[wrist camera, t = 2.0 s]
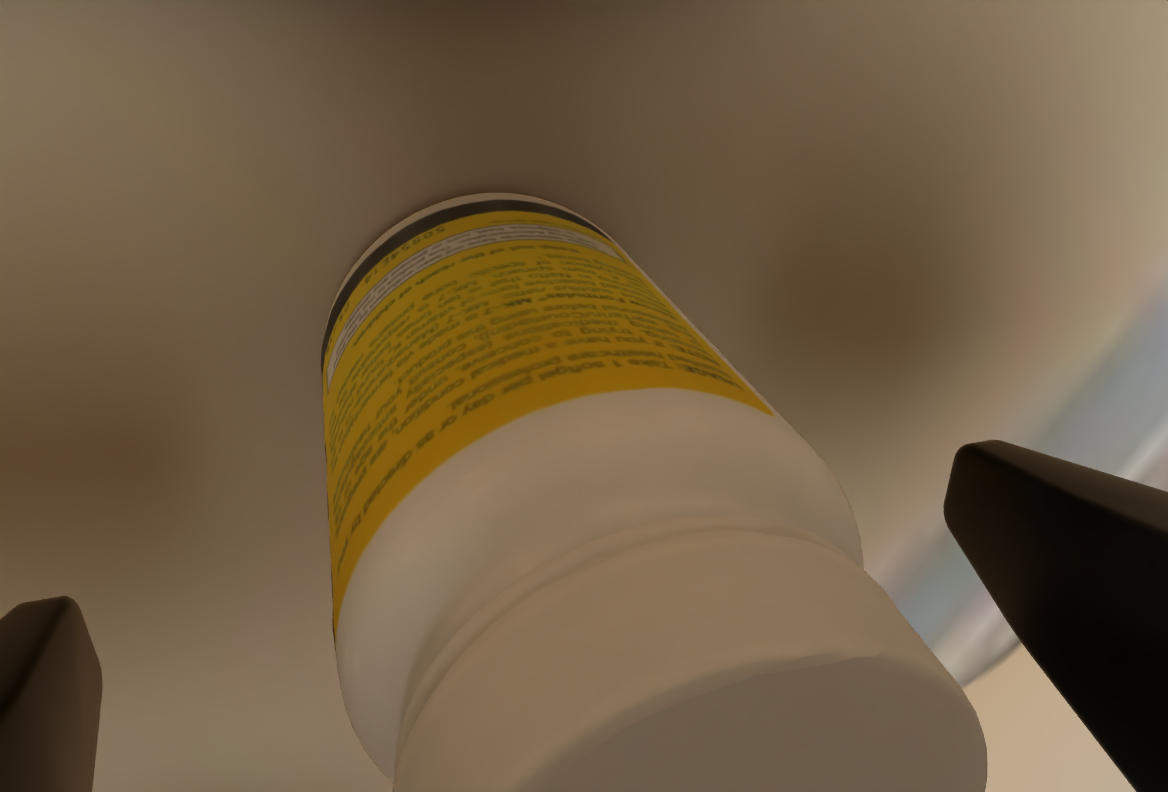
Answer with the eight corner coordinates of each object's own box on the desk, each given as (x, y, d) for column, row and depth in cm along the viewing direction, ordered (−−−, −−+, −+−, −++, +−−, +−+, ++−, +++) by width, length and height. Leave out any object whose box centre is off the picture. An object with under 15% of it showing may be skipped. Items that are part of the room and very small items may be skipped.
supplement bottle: (245, 359, 12) (155, 1018, 5) (494, 109, 11) (823, 432, 4) (488, 537, 14) (670, 1145, 7) (704, 339, 14) (1139, 790, 7)
